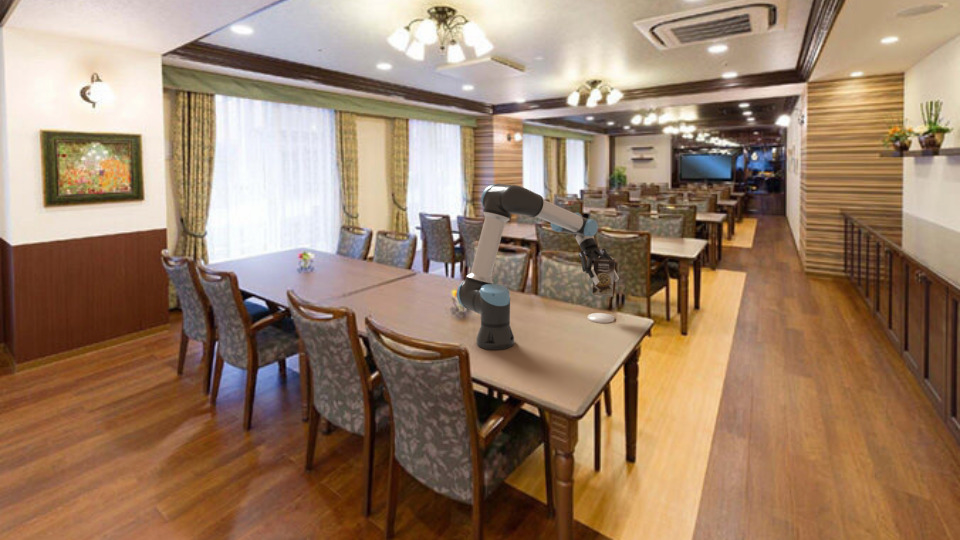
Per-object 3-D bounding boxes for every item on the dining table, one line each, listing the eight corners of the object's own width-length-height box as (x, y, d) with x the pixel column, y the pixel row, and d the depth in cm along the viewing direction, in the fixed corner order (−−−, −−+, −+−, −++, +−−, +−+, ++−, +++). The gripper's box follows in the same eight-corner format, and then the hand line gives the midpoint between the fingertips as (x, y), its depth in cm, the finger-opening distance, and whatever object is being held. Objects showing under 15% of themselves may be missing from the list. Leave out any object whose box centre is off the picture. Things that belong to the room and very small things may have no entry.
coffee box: (592, 295, 221) (593, 260, 218) (592, 291, 227) (594, 257, 224) (612, 296, 219) (614, 261, 215) (613, 293, 225) (614, 258, 221)
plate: (599, 324, 218) (599, 322, 218) (582, 317, 228) (582, 315, 228) (620, 320, 223) (620, 318, 223) (602, 313, 233) (602, 311, 233)
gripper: (602, 244, 237) (622, 282, 227) (562, 249, 227) (582, 289, 217) (609, 235, 231) (631, 274, 221) (569, 239, 221) (590, 280, 211)
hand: (607, 281), depth 219 cm, fingers closed on coffee box, 10 cm apart
